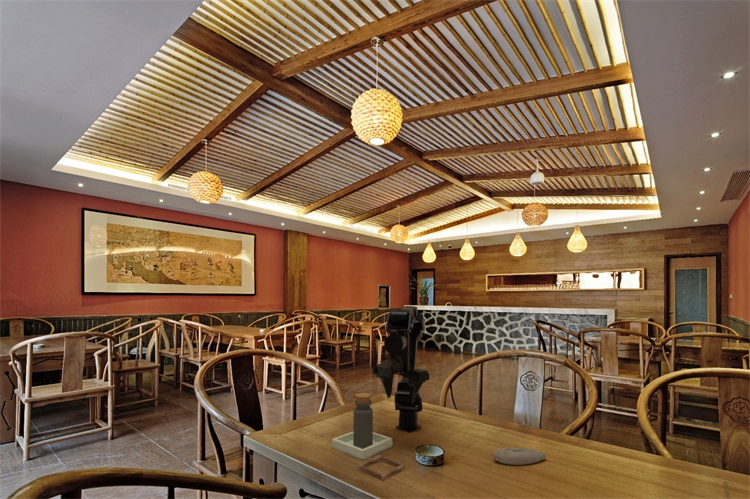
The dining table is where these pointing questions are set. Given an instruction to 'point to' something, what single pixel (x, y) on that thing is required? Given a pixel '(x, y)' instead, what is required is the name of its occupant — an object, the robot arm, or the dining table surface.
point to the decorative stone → (518, 456)
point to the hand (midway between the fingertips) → (400, 400)
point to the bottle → (363, 421)
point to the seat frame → (378, 475)
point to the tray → (347, 447)
